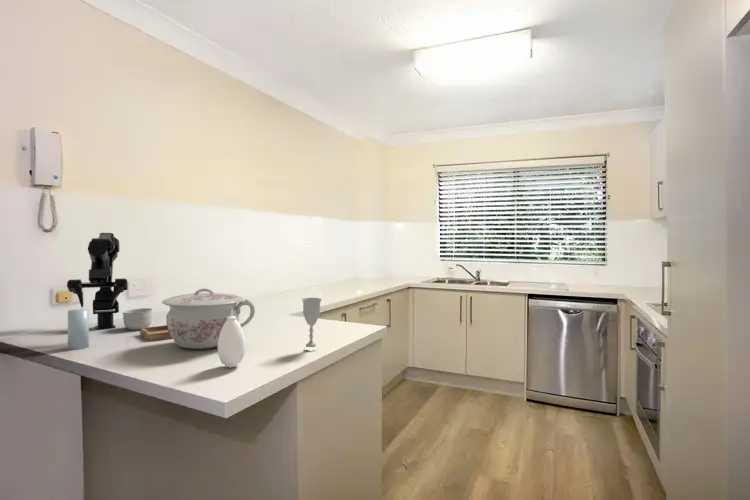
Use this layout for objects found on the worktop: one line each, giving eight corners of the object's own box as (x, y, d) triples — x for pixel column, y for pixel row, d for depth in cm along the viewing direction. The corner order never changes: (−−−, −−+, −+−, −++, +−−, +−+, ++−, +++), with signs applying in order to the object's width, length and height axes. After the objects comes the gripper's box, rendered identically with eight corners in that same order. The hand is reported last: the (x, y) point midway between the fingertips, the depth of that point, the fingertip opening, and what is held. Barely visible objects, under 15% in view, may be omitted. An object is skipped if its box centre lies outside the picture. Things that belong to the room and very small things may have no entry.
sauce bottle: (237, 361, 132) (237, 305, 132) (249, 367, 127) (250, 308, 126) (213, 366, 127) (213, 307, 126) (225, 372, 121) (225, 311, 121)
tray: (140, 334, 166) (140, 328, 165) (172, 330, 174) (172, 324, 174) (149, 341, 155) (149, 334, 155) (183, 337, 163) (183, 330, 163)
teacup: (142, 331, 171) (142, 312, 171) (116, 331, 171) (116, 311, 171) (161, 324, 185) (161, 306, 185) (136, 324, 185) (136, 306, 185)
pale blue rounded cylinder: (66, 347, 146) (66, 310, 145) (87, 344, 150) (87, 308, 149) (68, 350, 141) (68, 312, 141) (90, 347, 145) (90, 310, 145)
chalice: (325, 349, 148) (325, 299, 148) (309, 353, 143) (310, 301, 143) (312, 345, 153) (312, 297, 153) (297, 349, 148) (297, 298, 148)
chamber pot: (144, 348, 146) (144, 289, 146) (208, 333, 171) (208, 282, 170) (199, 360, 133) (199, 295, 133) (260, 342, 158) (260, 287, 157)
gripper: (66, 259, 149) (61, 300, 143) (126, 258, 158) (125, 297, 152) (71, 271, 158) (67, 310, 152) (128, 270, 167) (127, 307, 160)
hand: (97, 306), depth 154 cm, fingers open, 9 cm apart
